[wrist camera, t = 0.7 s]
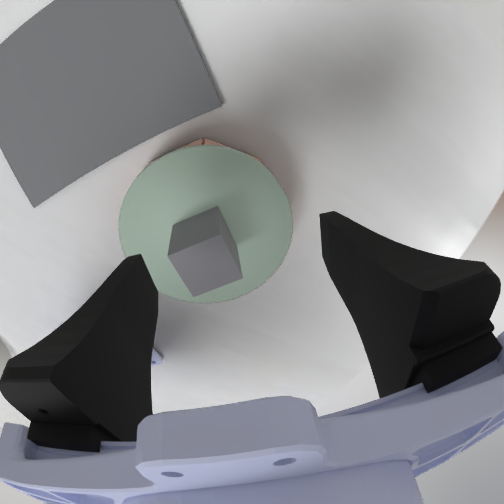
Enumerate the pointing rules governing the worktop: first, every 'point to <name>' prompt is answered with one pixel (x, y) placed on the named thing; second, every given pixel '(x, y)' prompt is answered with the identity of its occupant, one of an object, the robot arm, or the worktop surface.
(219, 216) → the lid
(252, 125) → the worktop surface
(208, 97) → the mat
